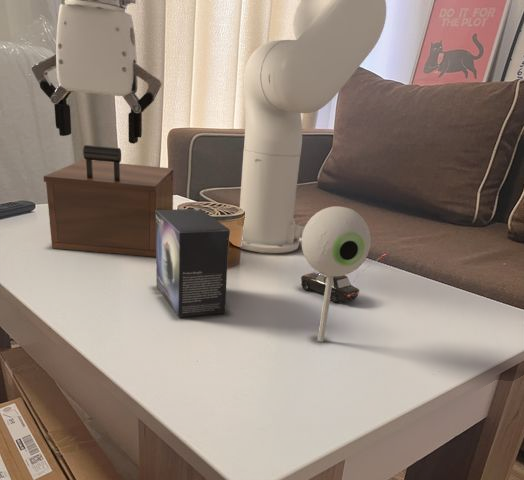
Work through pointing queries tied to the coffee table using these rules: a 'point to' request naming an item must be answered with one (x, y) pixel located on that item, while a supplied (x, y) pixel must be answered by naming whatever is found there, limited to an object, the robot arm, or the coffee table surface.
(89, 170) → the lid
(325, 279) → the toy car
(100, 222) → the chest
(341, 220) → the lollipop
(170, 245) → the small box
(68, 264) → the coffee table surface
